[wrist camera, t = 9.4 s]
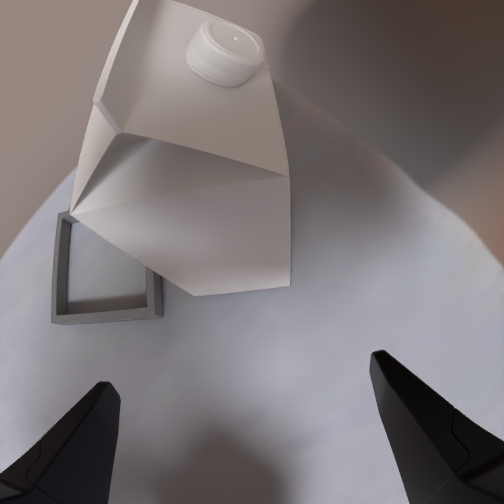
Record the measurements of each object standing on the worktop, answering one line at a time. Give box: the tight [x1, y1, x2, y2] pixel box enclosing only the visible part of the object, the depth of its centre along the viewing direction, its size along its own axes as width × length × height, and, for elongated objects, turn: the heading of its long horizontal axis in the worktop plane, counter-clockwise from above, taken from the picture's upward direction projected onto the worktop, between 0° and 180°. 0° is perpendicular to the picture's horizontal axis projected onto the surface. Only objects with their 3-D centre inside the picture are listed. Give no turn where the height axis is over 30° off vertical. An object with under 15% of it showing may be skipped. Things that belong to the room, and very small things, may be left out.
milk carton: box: [70, 0, 291, 296], centre depth 15 cm, size 7×7×19 cm
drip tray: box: [51, 210, 163, 325], centre depth 24 cm, size 10×10×2 cm
